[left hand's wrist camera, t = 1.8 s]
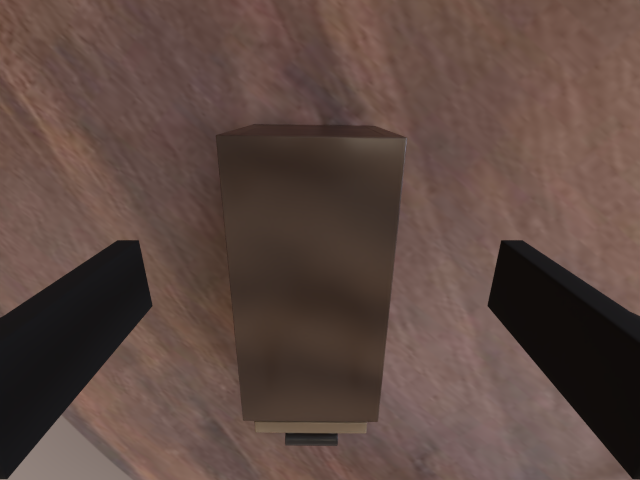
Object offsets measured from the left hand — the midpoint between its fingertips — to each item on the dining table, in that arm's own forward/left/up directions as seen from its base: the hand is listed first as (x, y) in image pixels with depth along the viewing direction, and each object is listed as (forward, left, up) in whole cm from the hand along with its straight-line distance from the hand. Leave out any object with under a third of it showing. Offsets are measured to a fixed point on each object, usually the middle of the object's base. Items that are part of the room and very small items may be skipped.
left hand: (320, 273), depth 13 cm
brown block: (+5, -3, -19) cm, 20 cm away
